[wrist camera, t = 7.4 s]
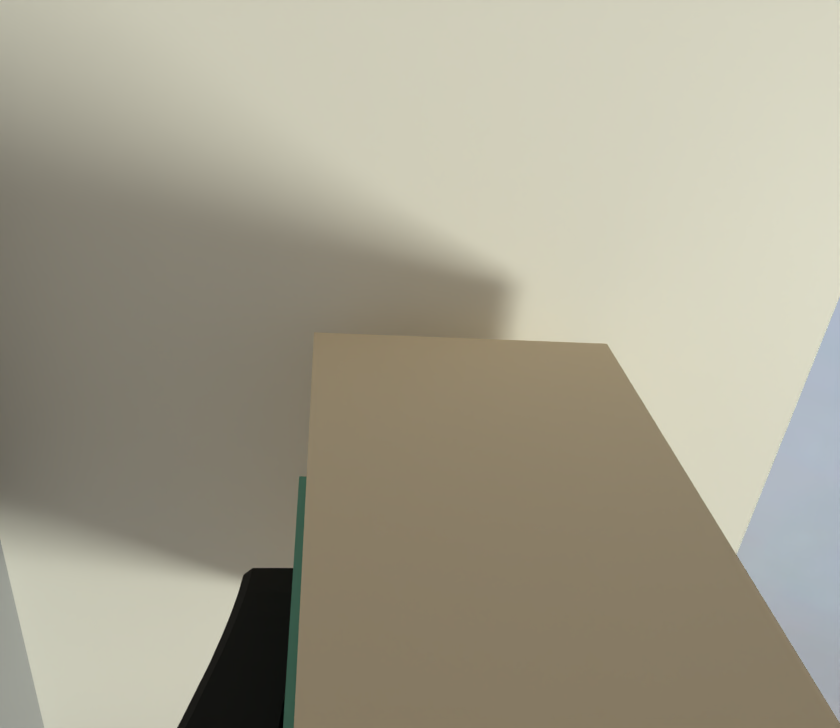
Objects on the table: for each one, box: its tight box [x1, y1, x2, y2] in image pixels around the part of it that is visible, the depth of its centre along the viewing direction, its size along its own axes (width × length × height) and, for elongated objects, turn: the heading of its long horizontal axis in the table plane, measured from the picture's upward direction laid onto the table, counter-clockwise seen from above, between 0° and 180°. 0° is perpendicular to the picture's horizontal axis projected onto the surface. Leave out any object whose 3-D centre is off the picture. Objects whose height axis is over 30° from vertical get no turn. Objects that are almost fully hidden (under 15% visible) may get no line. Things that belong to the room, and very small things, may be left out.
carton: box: [283, 332, 840, 728], centre depth 9 cm, size 4×6×7 cm
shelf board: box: [0, 0, 840, 728], centre depth 12 cm, size 16×14×4 cm
